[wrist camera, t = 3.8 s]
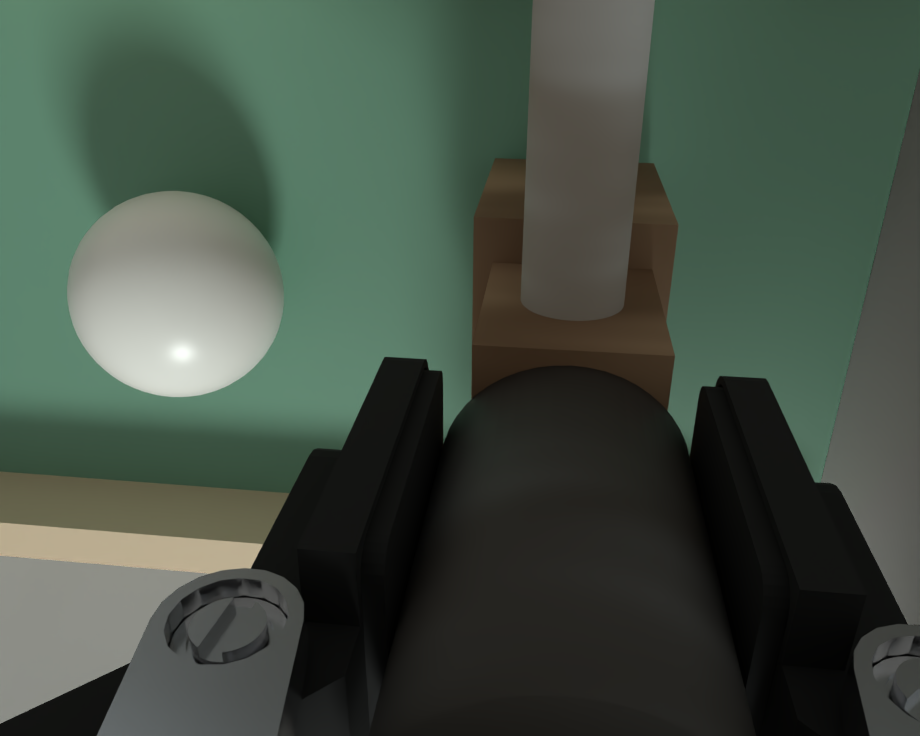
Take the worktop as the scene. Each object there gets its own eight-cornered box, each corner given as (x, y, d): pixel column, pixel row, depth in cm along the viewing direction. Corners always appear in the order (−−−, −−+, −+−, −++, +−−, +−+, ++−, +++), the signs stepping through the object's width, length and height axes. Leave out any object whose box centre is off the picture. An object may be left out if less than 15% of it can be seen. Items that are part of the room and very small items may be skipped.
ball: (300, 172, 17) (229, 230, 13) (314, 349, 19) (255, 442, 15) (113, 166, 17) (-3, 221, 14) (145, 340, 19) (48, 428, 16)
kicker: (713, -322, 12) (1601, -2011, 2) (605, 645, 21) (641, 1354, 10) (499, -315, 13) (141, -1706, 2) (479, 634, 21) (390, 1309, 11)
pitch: (934, -107, 15) (1022, -121, 12) (788, 534, 21) (823, 626, 18) (-550, -106, 18) (-764, -116, 15) (-287, 453, 24) (-403, 520, 21)
